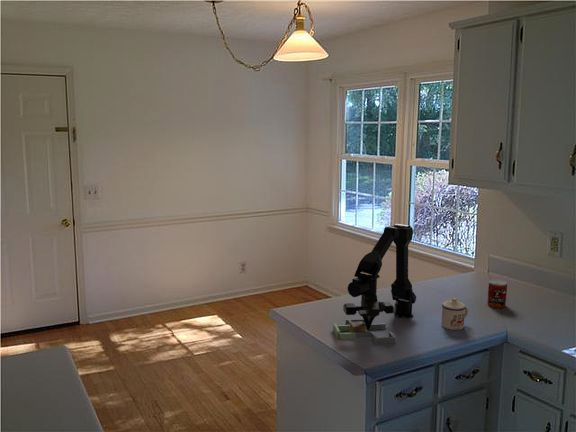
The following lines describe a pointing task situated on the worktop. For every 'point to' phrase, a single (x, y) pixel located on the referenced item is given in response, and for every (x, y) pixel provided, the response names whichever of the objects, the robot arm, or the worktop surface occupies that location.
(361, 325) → the walnut block
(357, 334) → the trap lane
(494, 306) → the canned food
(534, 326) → the worktop surface
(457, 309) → the teacup with lid
